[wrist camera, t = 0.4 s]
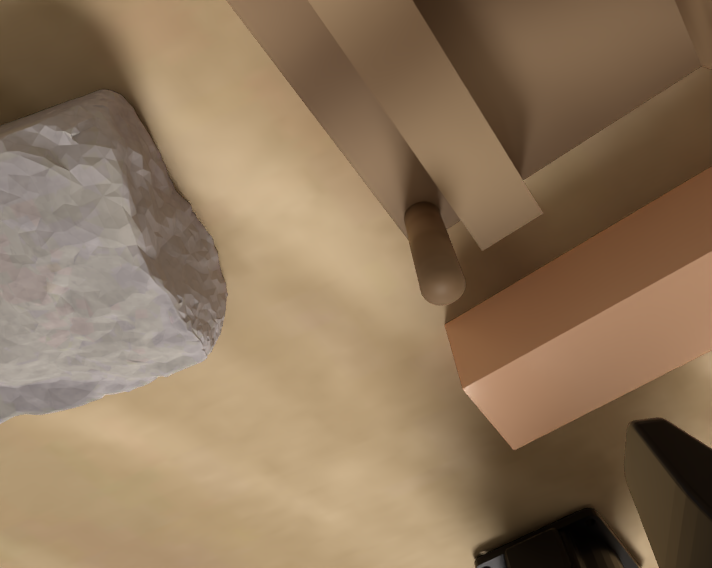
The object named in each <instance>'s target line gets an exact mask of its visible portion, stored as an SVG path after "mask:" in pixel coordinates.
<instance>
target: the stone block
mask: <svg viewBox="0 0 712 568" xmlns="http://www.w3.org/2000/svg"><path fill="white" fill-rule="evenodd" d="M227 296H228V294H227V290H226V283H225V281H224V278H223V276H222V273H221V269H220V265H219V259H218V252H217V250H216V248H215V245H214V241H213V238H212V237H211V235H210V234H208V232H207V231H206V229H205V228H204V226H203V225H202V224H201V222H200V221H199V220H198V219H197V217H196V215H195V214H194V213H193V211H192V207H191V205H190V204H189V203H188V202H187V201H186V200H185V199H184V198H183V197H182V196H181V195H179V194H178V193H177V191H176V190H175V187H174V185H173V183H172V181H171V179H170V178H169V176H168V173H167V169H166V166H165V163H164V162H163V161H162V158H161V154H160V152H159V151H158V149H157V147H156V146H155V144H154V142H153V140H152V138H151V137H150V135H149V133H148V132H147V130H146V129H145V127H144V125H143V124H142V123H141V121H140V120H139V118H138V117H137V114H136V112H135V110H134V108H133V107H132V106H131V105H130V104H129V103H128V102H127V101H126V99H125V98H124V97H123V96H122V95H121V94H119V93H116V92H114V91H112V90H104V89H102V90H97V91H95V92H92V93H90V94H87V95H85V96H82V97H79V98H76V99H73V100H70V101H67V102H64V103H62V104H59V105H56V106H53V107H51V108H48V109H45V110H42V111H40V112H37V113H34V114H32V115H29V116H26V117H23V118H20V119H18V120H15V121H12V122H9V123H6V124H3V125H1V126H0V424H1V423H3V422H4V421H6V420H8V419H10V418H12V417H14V416H18V415H23V414H32V415H43V414H49V413H54V412H58V411H63V410H67V409H71V408H75V407H79V406H82V405H85V404H87V403H89V402H92V401H95V400H98V399H101V398H102V397H104V396H105V395H109V394H117V393H121V392H129V391H131V390H133V389H135V388H137V387H141V386H144V385H146V384H149V383H150V382H152V381H154V380H155V379H156V378H157V377H160V376H164V377H168V376H170V375H171V374H173V373H176V372H178V371H180V370H183V369H186V368H188V367H190V366H193V365H195V364H197V363H200V362H202V361H204V360H205V359H206V358H207V355H208V354H209V353H211V352H212V349H213V347H214V345H215V343H216V341H217V339H218V337H219V335H220V333H221V328H222V326H223V320H224V317H225V310H226V298H227Z"/></svg>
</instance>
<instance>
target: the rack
mask: <svg viewBox="0 0 712 568" xmlns="http://www.w3.org/2000/svg"><path fill="white" fill-rule="evenodd" d="M227 2H228V3H229V4H230V6H231V7H232V8H233V10H234V11H235V12H236V14H237V15H238V16H239V18H240V19H241V20H242V22H243V23H244V24H245V26H246V27H247V28H248V29H249V31H250V32H251V33H252V35H253V36H254V37H255V39H256V40H257V41H258V43H259V44H260V45H261V47H262V48H263V49H264V51H265V52H266V53H267V54H268V56H269V57H270V58H271V60H272V61H273V62H274V64H275V65H276V66H277V68H278V69H279V70H280V72H281V73H282V74H283V76H284V77H285V78H286V80H287V81H288V82H289V83H290V85H291V86H292V87H293V89H294V90H295V91H296V93H297V94H298V95H299V97H300V98H301V99H302V101H303V102H304V103H305V105H306V106H307V107H308V109H309V110H310V111H311V112H312V114H313V115H314V116H315V118H316V119H317V120H318V122H319V123H320V124H321V126H322V127H323V128H324V130H325V131H326V132H327V134H328V135H329V136H330V138H331V139H332V140H333V141H334V143H335V144H336V145H337V147H338V148H339V149H340V151H341V152H342V153H343V155H344V156H345V157H346V159H347V160H348V161H349V163H350V164H351V165H352V167H353V168H354V169H355V170H356V172H357V173H358V174H359V176H360V177H361V178H362V180H363V181H364V182H365V184H366V185H367V186H368V188H369V189H370V190H371V192H372V193H373V194H374V196H375V197H376V198H377V199H378V201H379V202H380V203H381V205H382V206H383V207H384V209H385V210H386V211H387V213H388V214H389V215H390V217H391V218H392V219H393V221H394V222H395V223H396V224H397V226H398V227H399V228H400V230H401V231H402V232H403V234H404V235H405V236H406V238H407V239H408V240H409V244H410V248H411V252H412V256H413V261H414V265H415V269H416V273H417V277H418V281H419V286H420V290H421V293H422V296H423V297H424V298H425V299H426V300H427V301H428V302H430V303H432V304H435V305H448V304H451V303H453V302H455V301H456V300H458V299H459V298H460V297H461V296H462V294H463V292H464V290H465V286H466V282H465V278H464V275H463V273H462V270H461V267H460V265H459V262H458V259H457V257H456V254H455V251H454V249H453V246H452V243H451V241H450V238H449V235H448V233H447V230H446V229H448V228H449V227H451V226H452V225H454V224H456V223H457V222H459V221H460V220H461V221H462V223H463V224H464V226H465V227H466V228H467V230H468V231H469V233H470V234H471V236H472V237H473V239H474V240H475V241H476V243H477V244H478V246H479V247H480V249H481V250H482V251H483V250H485V249H487V248H488V247H490V246H491V245H493V244H495V243H496V242H498V241H500V240H501V239H503V238H504V237H506V236H508V235H509V234H511V233H513V232H514V231H516V230H517V229H519V228H521V227H522V226H524V225H526V224H527V223H529V222H530V221H532V220H534V219H535V218H537V217H539V216H540V215H542V214H543V212H542V210H541V209H540V207H539V205H538V204H537V202H536V200H535V199H534V197H533V196H532V194H531V192H530V191H529V189H528V187H527V186H526V184H525V183H524V181H523V180H524V179H526V178H528V177H529V176H531V175H532V174H534V173H535V172H537V171H538V170H540V169H542V168H543V167H545V166H546V165H548V164H549V163H551V162H553V161H554V160H556V159H557V158H559V157H560V156H562V155H564V154H565V153H567V152H568V151H570V150H571V149H573V148H574V147H576V146H578V145H579V144H581V143H582V142H584V141H585V140H587V139H589V138H590V137H592V136H593V135H595V134H596V133H598V132H599V131H601V130H603V129H604V128H606V127H607V126H609V125H610V124H612V123H614V122H615V121H617V120H618V119H620V118H621V117H623V116H625V115H626V114H628V113H629V112H631V111H632V110H634V109H635V108H637V107H639V106H640V105H642V104H643V103H645V102H646V101H648V100H650V99H651V98H653V97H654V96H656V95H657V94H659V93H661V92H662V91H664V90H665V89H667V88H668V87H670V86H671V85H673V84H675V83H676V82H678V81H679V80H681V79H682V78H684V77H686V76H687V75H689V74H690V73H692V72H693V71H695V70H697V69H698V68H700V67H701V66H703V67H706V68H708V69H711V70H712V0H227Z"/></svg>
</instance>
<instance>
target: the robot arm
mask: <svg viewBox="0 0 712 568" xmlns="http://www.w3.org/2000/svg"><path fill="white" fill-rule="evenodd" d="M624 472H625V477H626V481H627V484H628V487H629V490H630V493H631V495H632V498H633V500H634V503H635V506H636V508H637V511H638V514H639V516H640V519H641V521H642V524H643V527H644V529H645V532H646V535H647V537H648V540H649V542H650V545H651V548H652V550H653V553H654V555H655V558H656V561H657V563H658V566H659V568H712V449H711V448H710V447H708V446H707V445H705V444H704V443H702V442H700V441H699V440H697V439H696V438H694V437H693V436H691V435H689V434H688V433H686V432H685V431H683V430H682V429H680V428H678V427H677V426H675V425H674V424H672V423H670V422H669V421H667V420H665V419H663V418H650V419H642V420H635V421H632V422H630V423H629V425H628V427H627V433H626V447H625V460H624ZM475 568H641V567H640V566H639V564H638V563H637V562H636V561H635V559H634V558H633V557H632V555H631V554H630V553H629V552H628V550H627V549H626V548H625V546H624V545H623V544H622V543H621V541H620V540H619V539H618V538H617V536H616V535H615V534H614V532H613V531H612V530H611V529H610V527H609V526H608V525H607V523H606V522H605V521H604V520H603V518H602V517H601V516H600V514H599V513H598V512H597V511H596V510H595V509H592V508H586V509H583V510H580V511H578V512H576V513H574V514H572V515H569V516H567V517H565V518H563V519H561V520H559V521H556V522H554V523H552V524H550V525H548V526H546V527H543V528H541V529H539V530H537V531H535V532H532V533H530V534H528V535H526V536H524V537H522V538H519V539H517V540H515V541H513V542H511V543H509V544H506V545H504V546H502V547H500V548H498V549H495V550H493V551H491V552H489V553H487V554H485V555H482V556H480V557H478V558H477V559H476V560H475Z"/></svg>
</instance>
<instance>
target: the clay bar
mask: <svg viewBox="0 0 712 568" xmlns="http://www.w3.org/2000/svg"><path fill="white" fill-rule="evenodd" d="M445 328H446V331H447V335H448V339H449V342H450V346H451V349H452V353H453V356H454V360H455V364H456V367H457V371H458V374H459V378H460V381H461V385H462V389H463V390H464V391H465V392H466V394H467V395H468V396H469V397H470V398H471V400H472V401H473V402H474V403H475V404H476V406H477V407H478V408H479V409H480V410H481V412H482V413H483V414H484V415H485V416H486V418H487V419H488V420H489V421H490V422H491V424H492V425H493V426H494V427H495V429H496V430H497V431H498V432H499V433H500V435H501V436H502V437H503V438H504V439H505V441H506V442H507V443H508V444H509V445H510V447H511V448H512V449H513V450H516V449H518V448H520V447H522V446H524V445H526V444H528V443H530V442H532V441H534V440H536V439H538V438H540V437H542V436H544V435H546V434H548V433H550V432H552V431H554V430H556V429H558V428H560V427H562V426H563V425H565V424H567V423H569V422H571V421H573V420H575V419H577V418H579V417H581V416H583V415H585V414H587V413H589V412H591V411H593V410H595V409H597V408H599V407H601V406H603V405H605V404H607V403H609V402H611V401H613V400H615V399H617V398H619V397H621V396H623V395H625V394H627V393H629V392H631V391H633V390H634V389H636V388H638V387H640V386H642V385H644V384H646V383H648V382H650V381H652V380H654V379H656V378H658V377H660V376H662V375H664V374H666V373H668V372H670V371H672V370H674V369H676V368H678V367H680V366H682V365H684V364H686V363H688V362H690V361H692V360H694V359H696V358H698V357H700V356H702V355H704V354H706V353H707V352H709V351H711V350H712V166H711V167H710V168H708V169H706V170H705V171H703V172H701V173H699V174H698V175H696V176H694V177H693V178H691V179H689V180H688V181H686V182H684V183H683V184H681V185H679V186H678V187H676V188H674V189H673V190H671V191H669V192H667V193H666V194H664V195H662V196H661V197H659V198H657V199H656V200H654V201H652V202H651V203H649V204H647V205H646V206H644V207H642V208H640V209H639V210H637V211H635V212H634V213H632V214H630V215H629V216H627V217H625V218H624V219H622V220H620V221H619V222H617V223H615V224H613V225H612V226H610V227H608V228H607V229H605V230H603V231H602V232H600V233H598V234H597V235H595V236H593V237H592V238H590V239H588V240H586V241H585V242H583V243H581V244H580V245H578V246H576V247H575V248H573V249H571V250H570V251H568V252H566V253H565V254H563V255H561V256H560V257H558V258H556V259H554V260H553V261H551V262H549V263H548V264H546V265H544V266H543V267H541V268H539V269H538V270H536V271H534V272H533V273H531V274H529V275H527V276H526V277H524V278H522V279H521V280H519V281H517V282H516V283H514V284H512V285H511V286H509V287H507V288H506V289H504V290H502V291H500V292H499V293H497V294H495V295H494V296H492V297H490V298H489V299H487V300H485V301H484V302H482V303H480V304H479V305H477V306H475V307H474V308H472V309H470V310H468V311H467V312H465V313H463V314H462V315H460V316H458V317H457V318H455V319H453V320H452V321H450V322H448V323H447V324H445Z"/></svg>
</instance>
